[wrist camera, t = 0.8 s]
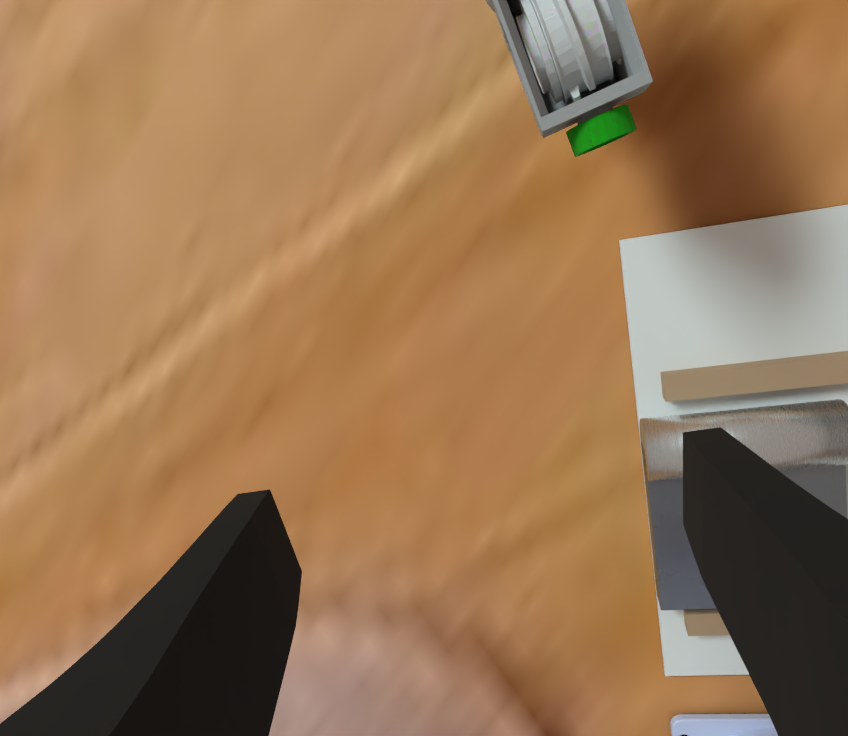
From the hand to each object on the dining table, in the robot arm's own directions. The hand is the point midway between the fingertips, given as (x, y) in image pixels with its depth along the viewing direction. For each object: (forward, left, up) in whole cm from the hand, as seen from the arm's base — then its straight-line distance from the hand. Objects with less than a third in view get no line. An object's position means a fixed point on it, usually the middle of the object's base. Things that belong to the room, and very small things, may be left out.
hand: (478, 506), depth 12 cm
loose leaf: (-8, -8, -16) cm, 19 cm away
